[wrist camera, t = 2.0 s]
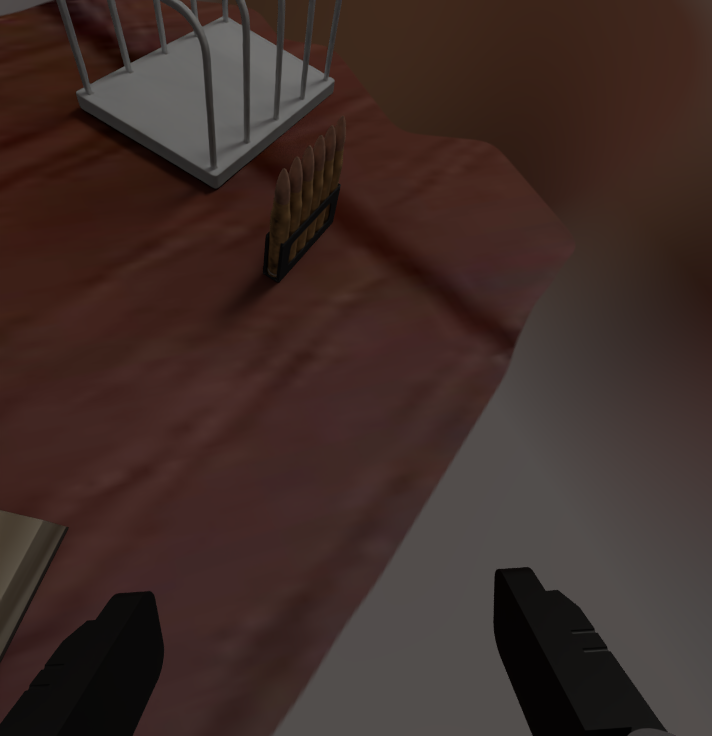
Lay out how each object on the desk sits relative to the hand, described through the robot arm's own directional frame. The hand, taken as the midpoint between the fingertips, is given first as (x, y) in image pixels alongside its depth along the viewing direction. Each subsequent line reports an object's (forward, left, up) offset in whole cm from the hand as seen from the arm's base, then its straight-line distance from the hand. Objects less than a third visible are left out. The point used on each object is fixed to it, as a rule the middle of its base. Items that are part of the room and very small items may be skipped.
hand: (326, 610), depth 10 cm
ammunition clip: (-7, +31, -23) cm, 39 cm away
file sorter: (-21, +49, -23) cm, 58 cm away
